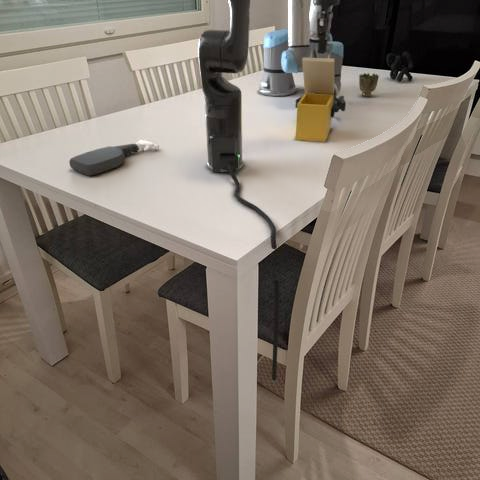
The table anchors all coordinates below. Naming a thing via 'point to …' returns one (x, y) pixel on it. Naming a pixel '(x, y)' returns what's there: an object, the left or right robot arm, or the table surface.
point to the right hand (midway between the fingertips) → (316, 111)
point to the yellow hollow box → (314, 117)
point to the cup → (367, 83)
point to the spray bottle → (106, 157)
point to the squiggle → (399, 66)
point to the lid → (319, 72)
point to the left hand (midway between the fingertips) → (322, 52)
